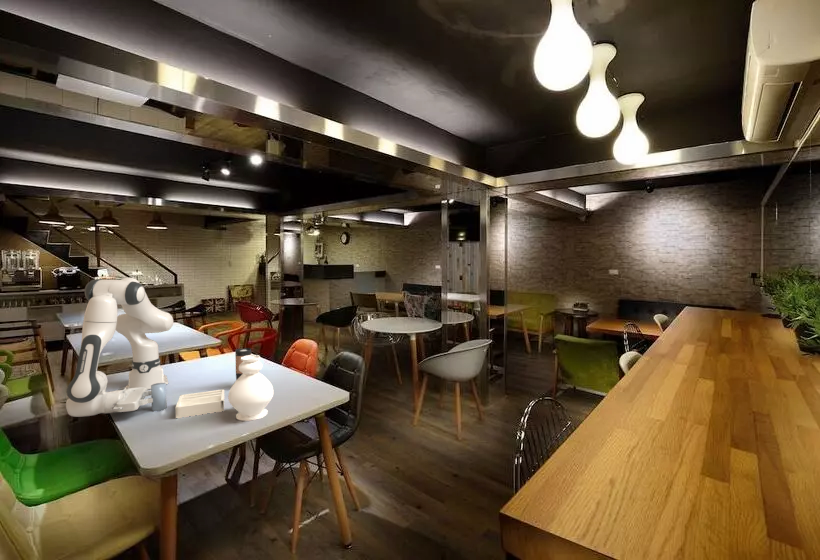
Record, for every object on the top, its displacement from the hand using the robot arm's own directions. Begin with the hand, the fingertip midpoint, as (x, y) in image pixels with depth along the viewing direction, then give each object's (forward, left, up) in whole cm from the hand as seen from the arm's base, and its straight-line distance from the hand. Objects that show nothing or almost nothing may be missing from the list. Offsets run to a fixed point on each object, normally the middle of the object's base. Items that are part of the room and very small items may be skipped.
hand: (155, 396), depth 167 cm
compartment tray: (+7, +18, -6) cm, 21 cm away
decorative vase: (+24, +38, -6) cm, 46 cm away
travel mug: (-14, +36, -6) cm, 40 cm away
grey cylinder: (0, +1, -6) cm, 6 cm away
